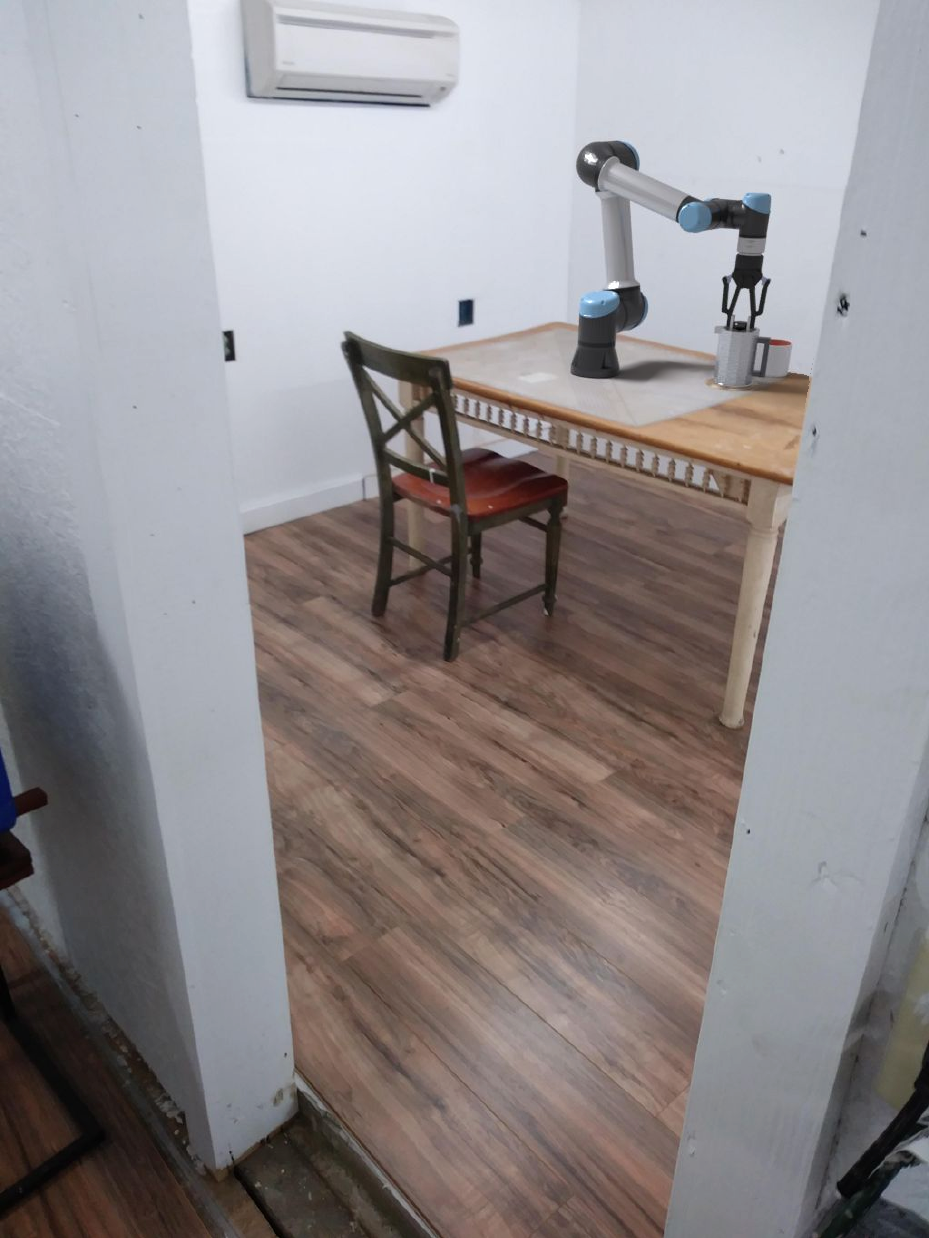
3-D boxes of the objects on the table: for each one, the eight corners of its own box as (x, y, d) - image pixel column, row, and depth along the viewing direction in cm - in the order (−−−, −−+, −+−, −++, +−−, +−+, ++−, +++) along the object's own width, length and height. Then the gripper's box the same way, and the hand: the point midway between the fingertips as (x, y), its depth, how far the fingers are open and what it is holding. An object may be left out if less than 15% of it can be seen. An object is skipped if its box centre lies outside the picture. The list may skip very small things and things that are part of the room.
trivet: (700, 389, 280) (700, 387, 280) (709, 377, 293) (709, 375, 293) (756, 395, 275) (756, 393, 275) (763, 382, 288) (763, 380, 288)
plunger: (719, 361, 279) (724, 323, 274) (723, 355, 285) (728, 318, 280) (747, 364, 276) (753, 325, 271) (751, 358, 282) (756, 320, 277)
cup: (788, 380, 291) (794, 346, 286) (754, 378, 292) (759, 345, 288) (785, 372, 299) (790, 339, 295) (752, 370, 301) (757, 338, 296)
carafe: (705, 385, 282) (712, 330, 274) (711, 377, 291) (718, 323, 283) (760, 391, 276) (769, 334, 269) (765, 382, 285) (773, 327, 278)
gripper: (717, 253, 266) (706, 339, 277) (780, 257, 261) (767, 344, 272) (721, 250, 273) (710, 334, 284) (783, 253, 267) (770, 339, 278)
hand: (738, 339), depth 278 cm, fingers closed on plunger, 4 cm apart
